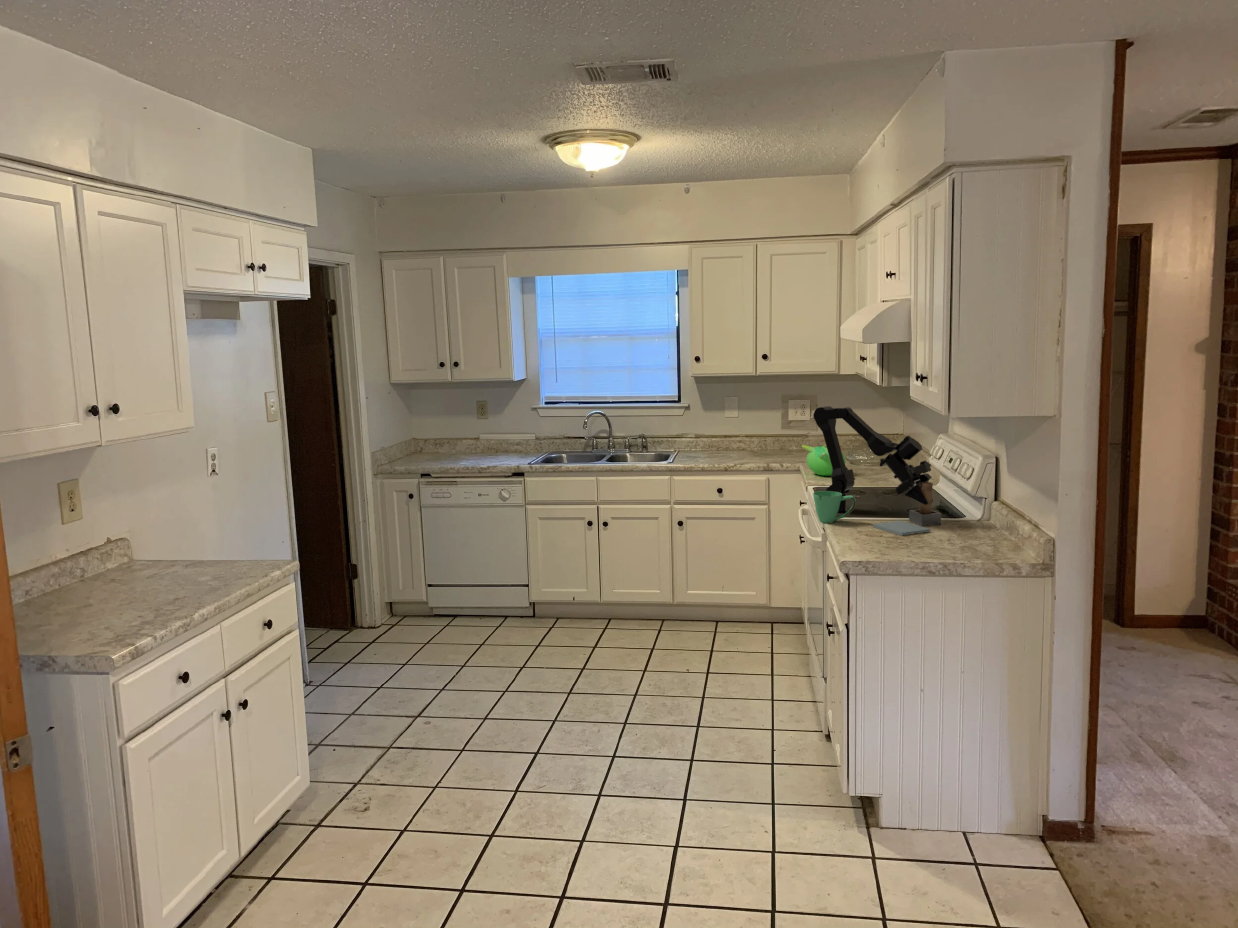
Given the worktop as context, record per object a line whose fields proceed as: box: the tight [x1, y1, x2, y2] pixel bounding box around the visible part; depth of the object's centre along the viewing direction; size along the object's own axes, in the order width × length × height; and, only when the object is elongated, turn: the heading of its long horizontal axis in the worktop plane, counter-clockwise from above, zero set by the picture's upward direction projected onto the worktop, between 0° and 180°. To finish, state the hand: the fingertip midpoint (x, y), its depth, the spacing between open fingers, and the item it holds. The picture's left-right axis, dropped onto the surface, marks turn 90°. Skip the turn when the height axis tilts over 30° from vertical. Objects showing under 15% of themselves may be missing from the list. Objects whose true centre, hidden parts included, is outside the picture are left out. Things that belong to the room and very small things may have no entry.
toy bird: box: [801, 444, 846, 477], centre depth 401 cm, size 18×17×15 cm
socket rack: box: [908, 509, 942, 527], centre depth 306 cm, size 8×8×4 cm
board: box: [872, 520, 931, 537], centre depth 298 cm, size 14×12×1 cm
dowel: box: [918, 481, 934, 514], centre depth 306 cm, size 4×4×14 cm
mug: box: [812, 490, 857, 524], centre depth 309 cm, size 15×10×10 cm
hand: (929, 503), depth 305 cm, fingers closed on dowel, 4 cm apart
